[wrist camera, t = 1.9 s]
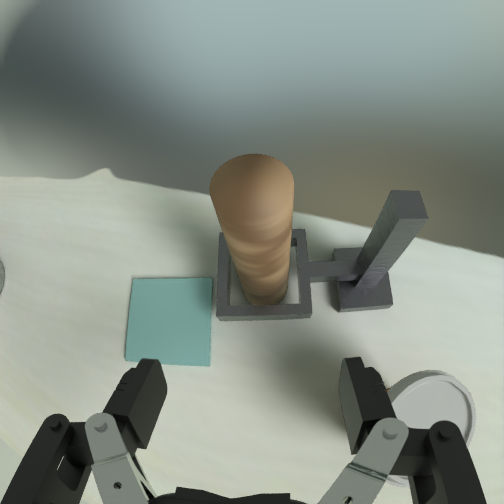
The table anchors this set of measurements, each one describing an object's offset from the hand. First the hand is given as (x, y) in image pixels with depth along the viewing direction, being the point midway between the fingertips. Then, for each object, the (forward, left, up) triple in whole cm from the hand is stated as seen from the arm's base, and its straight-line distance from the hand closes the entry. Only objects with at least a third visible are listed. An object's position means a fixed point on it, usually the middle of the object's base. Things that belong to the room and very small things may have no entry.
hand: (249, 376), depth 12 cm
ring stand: (+5, +11, -19) cm, 22 cm away
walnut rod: (0, +11, -19) cm, 22 cm away
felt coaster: (-11, +7, -19) cm, 23 cm away
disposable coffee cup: (+12, -5, -19) cm, 23 cm away
